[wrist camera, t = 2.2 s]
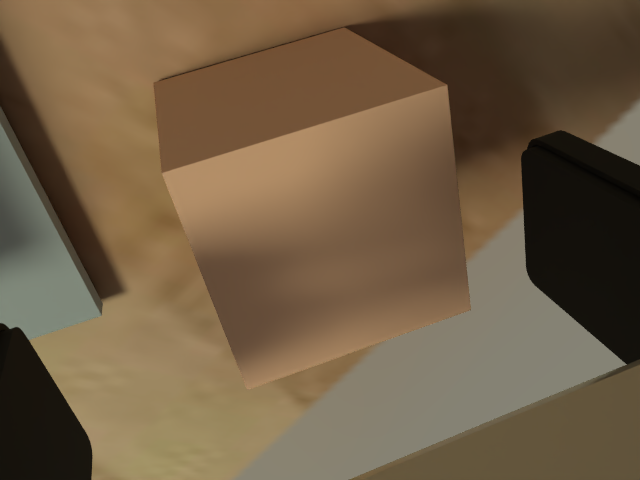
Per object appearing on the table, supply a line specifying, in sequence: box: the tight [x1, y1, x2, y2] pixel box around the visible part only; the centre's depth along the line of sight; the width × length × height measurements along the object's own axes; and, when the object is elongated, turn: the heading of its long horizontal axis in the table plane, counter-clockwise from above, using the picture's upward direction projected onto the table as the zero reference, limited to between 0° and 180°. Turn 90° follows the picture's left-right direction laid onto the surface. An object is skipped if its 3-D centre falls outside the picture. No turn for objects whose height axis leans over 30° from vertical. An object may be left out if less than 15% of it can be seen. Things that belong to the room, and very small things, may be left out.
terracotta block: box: [154, 27, 471, 390], centre depth 14 cm, size 5×5×6 cm
